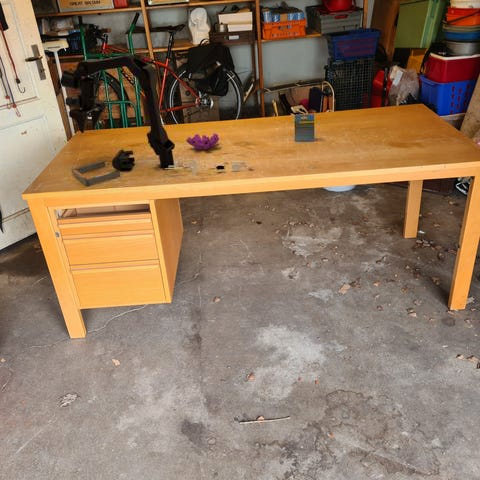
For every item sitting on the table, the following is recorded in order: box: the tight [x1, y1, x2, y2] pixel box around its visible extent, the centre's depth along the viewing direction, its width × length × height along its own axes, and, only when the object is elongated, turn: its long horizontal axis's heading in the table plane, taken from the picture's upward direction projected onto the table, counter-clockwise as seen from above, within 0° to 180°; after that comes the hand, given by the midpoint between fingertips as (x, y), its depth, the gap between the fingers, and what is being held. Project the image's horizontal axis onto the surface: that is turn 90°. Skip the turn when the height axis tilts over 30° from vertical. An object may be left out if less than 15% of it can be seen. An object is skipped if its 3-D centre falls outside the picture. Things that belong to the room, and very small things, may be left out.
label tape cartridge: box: [294, 113, 315, 143], centre depth 208 cm, size 9×4×12 cm, turn 84°
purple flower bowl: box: [186, 133, 220, 150], centre depth 208 cm, size 11×15×10 cm
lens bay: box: [71, 160, 121, 187], centre depth 188 cm, size 17×14×3 cm
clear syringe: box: [165, 156, 253, 176], centre depth 186 cm, size 6×35×12 cm
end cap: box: [111, 148, 136, 173], centre depth 193 cm, size 10×7×7 cm
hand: (88, 129), depth 194 cm, fingers open, 9 cm apart
